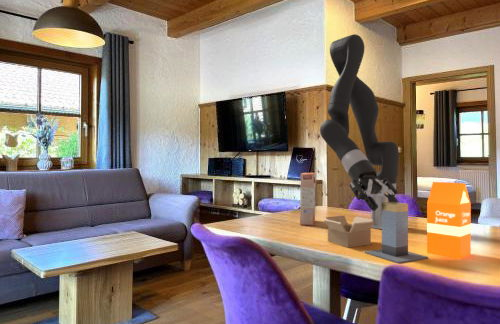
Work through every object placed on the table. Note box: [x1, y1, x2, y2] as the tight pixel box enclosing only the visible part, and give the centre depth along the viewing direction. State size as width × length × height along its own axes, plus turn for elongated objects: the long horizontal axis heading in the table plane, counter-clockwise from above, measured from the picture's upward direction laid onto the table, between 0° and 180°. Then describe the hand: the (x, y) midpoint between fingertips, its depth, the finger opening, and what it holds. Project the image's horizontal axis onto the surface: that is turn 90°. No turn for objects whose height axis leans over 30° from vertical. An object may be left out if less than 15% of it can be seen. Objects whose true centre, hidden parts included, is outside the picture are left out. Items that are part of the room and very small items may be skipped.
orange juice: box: [426, 181, 472, 260], centre depth 105 cm, size 8×9×20 cm
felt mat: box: [364, 248, 429, 264], centre depth 103 cm, size 11×12×1 cm
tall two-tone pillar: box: [381, 201, 409, 257], centre depth 103 cm, size 4×5×14 cm
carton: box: [323, 215, 374, 248], centre depth 119 cm, size 14×14×8 cm
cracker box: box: [299, 172, 317, 227], centre depth 156 cm, size 14×6×21 cm, turn 168°
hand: (386, 208), depth 106 cm, fingers open, 8 cm apart
